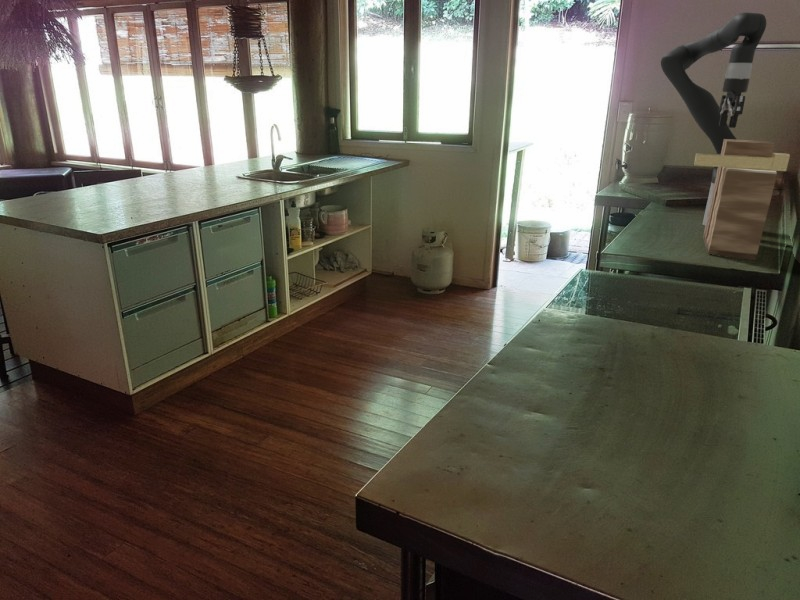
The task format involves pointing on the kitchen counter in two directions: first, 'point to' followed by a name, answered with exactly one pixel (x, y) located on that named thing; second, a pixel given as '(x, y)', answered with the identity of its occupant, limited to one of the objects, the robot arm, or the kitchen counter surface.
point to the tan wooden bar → (744, 161)
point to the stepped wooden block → (739, 203)
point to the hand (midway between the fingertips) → (726, 126)
